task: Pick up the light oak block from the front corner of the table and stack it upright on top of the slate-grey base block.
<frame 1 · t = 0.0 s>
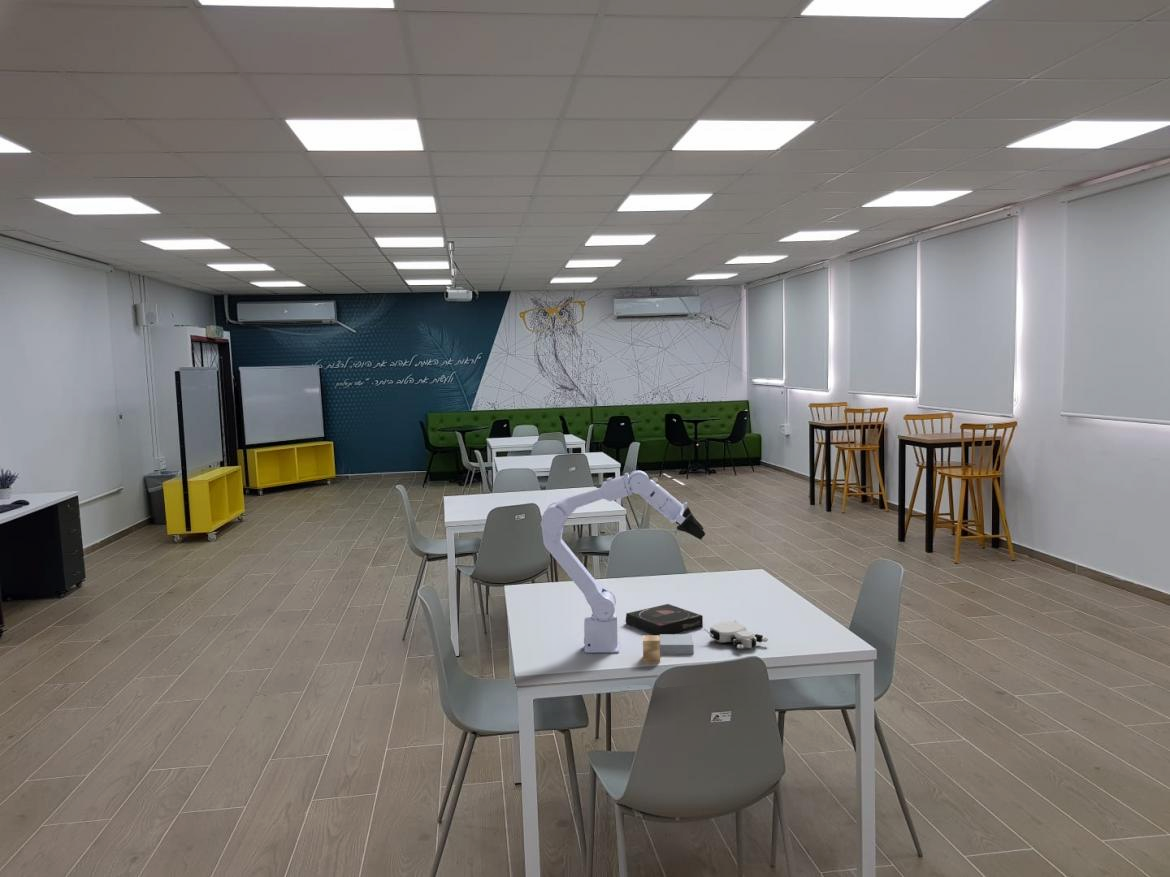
hand: (702, 534, 223), 32 cm above the table, tool tilted 50°, fingers open, 7 cm apart
slate base: (676, 649, 226), on the table
oak block: (651, 659, 217), on the table
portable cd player: (663, 627, 247), on the table
robot toy: (736, 644, 229), on the table
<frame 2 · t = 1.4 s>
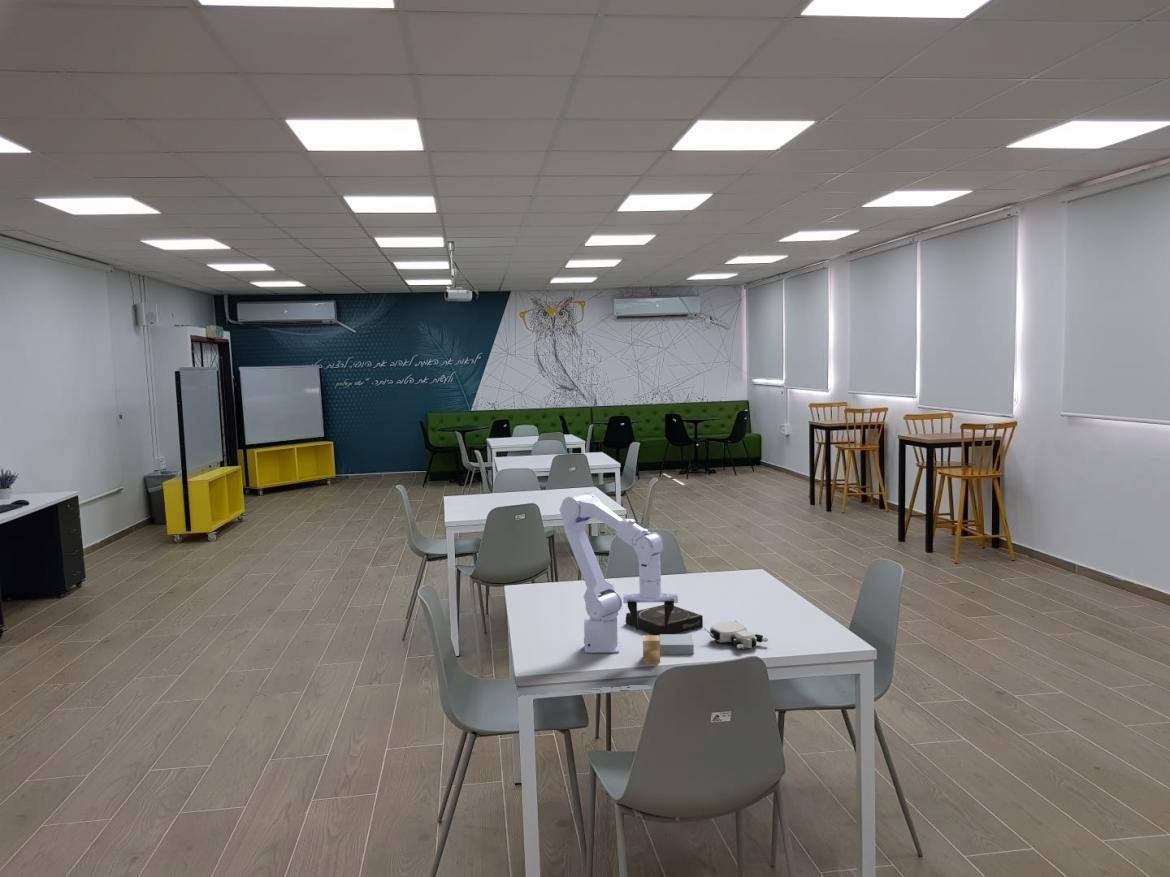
hand: (651, 628, 217), 8 cm above the table, tool pointing down, fingers open, 7 cm apart
nothing on the table moved.
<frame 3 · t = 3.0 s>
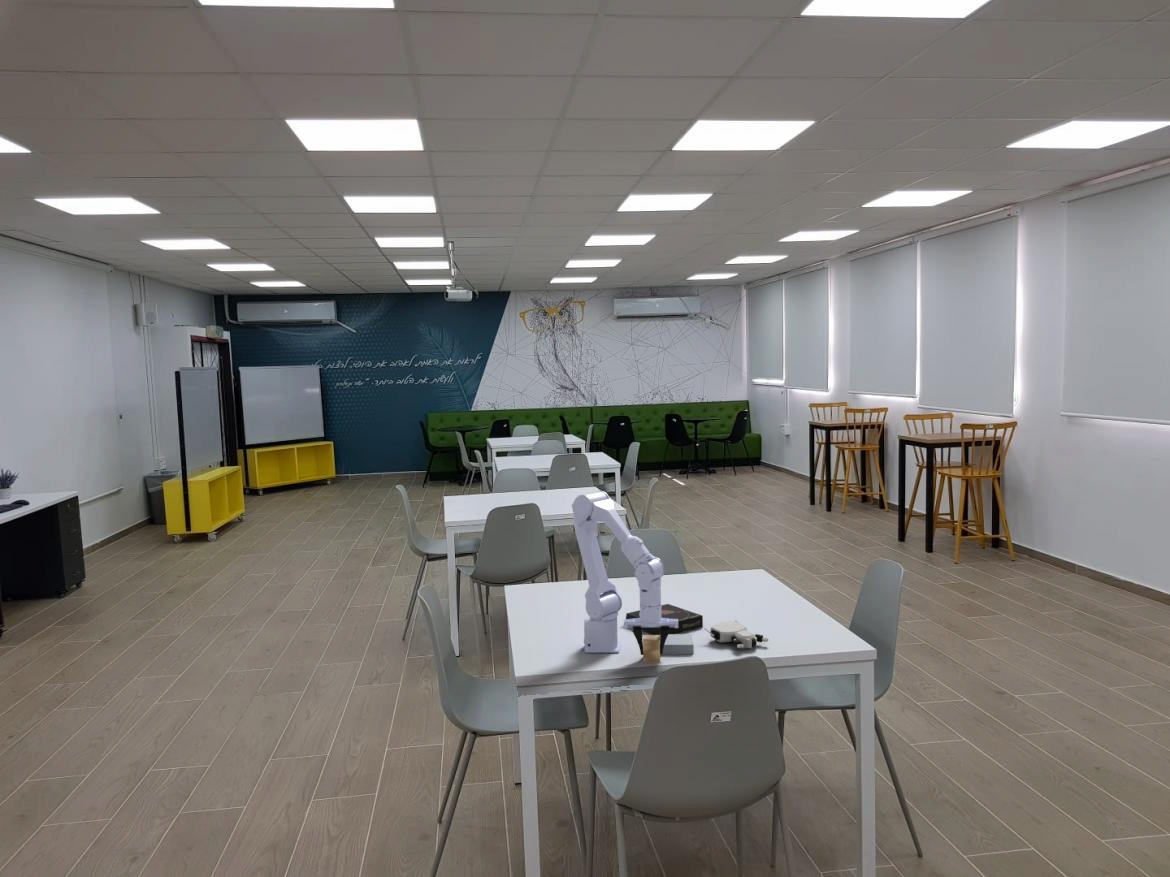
hand: (651, 653, 217), 2 cm above the table, tool pointing down, fingers closed on oak block, 4 cm apart
oak block: (651, 659, 217), on the table, touching gripper
everything else where it was.
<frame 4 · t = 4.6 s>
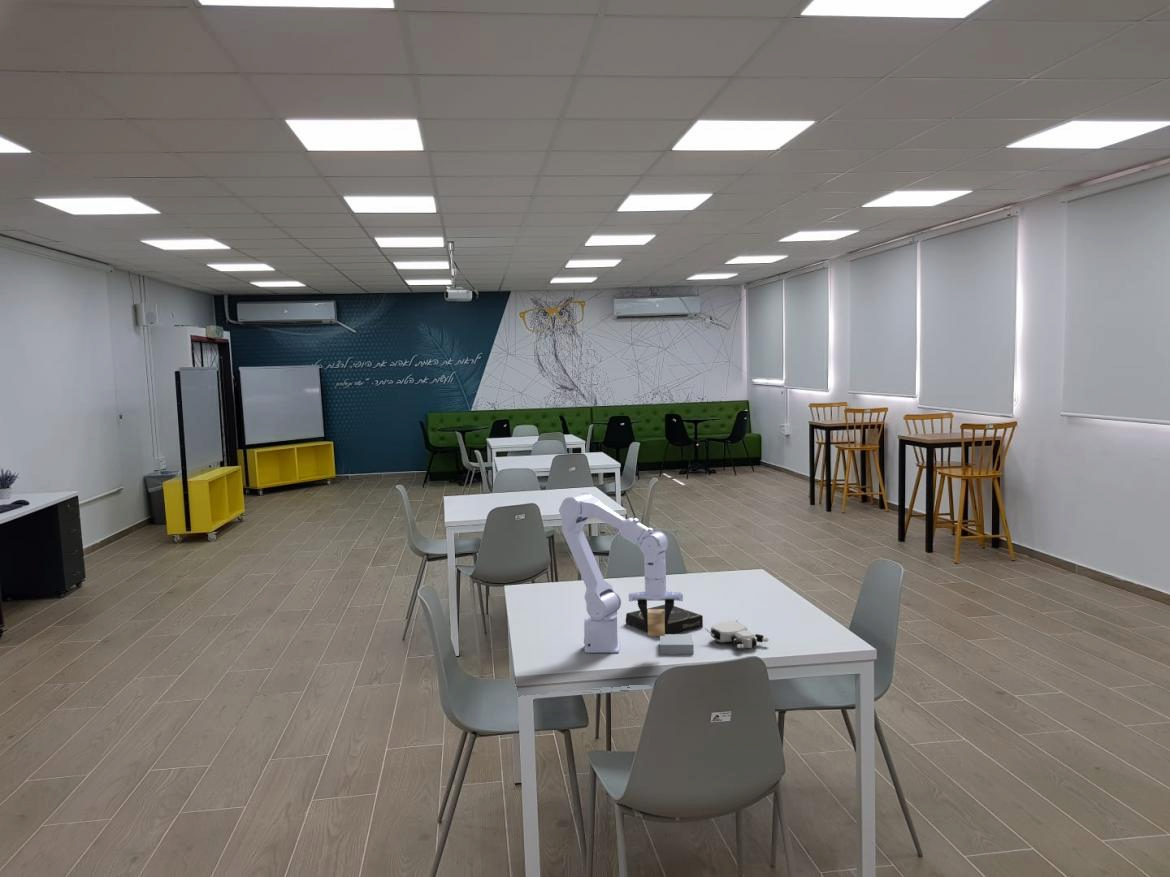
hand: (656, 626, 218), 8 cm above the table, tool pointing down, fingers closed on oak block, 4 cm apart
oak block: (656, 633, 218), point 7 cm above the table, touching gripper
everything else where it was.
when the fingers open (6 cm above the table, at t = 6.4 s): oak block drops 2 cm, resting on slate base.
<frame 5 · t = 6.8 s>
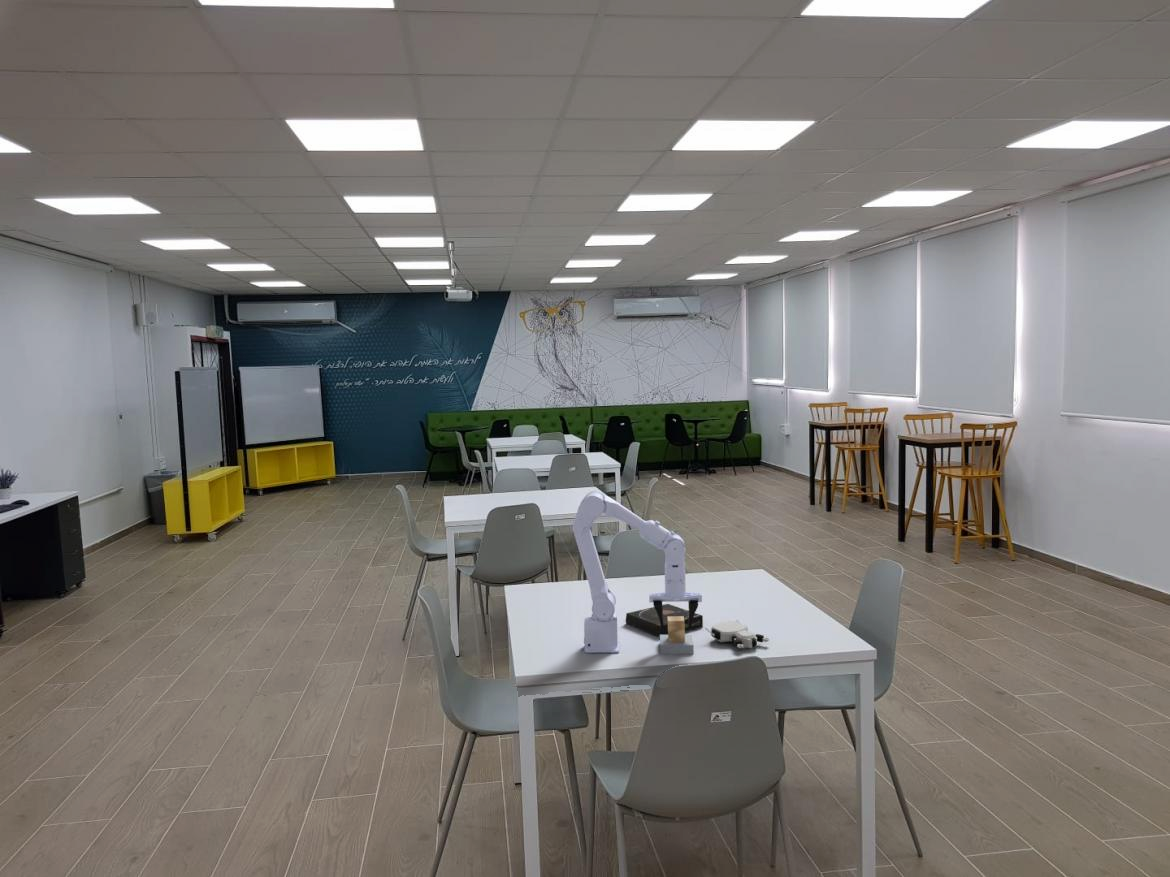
hand: (676, 626, 225), 6 cm above the table, tool pointing down, fingers open, 7 cm apart
slate base: (676, 650, 226), on the table, touching oak block
oak block: (676, 639, 226), point 2 cm above the table, touching slate base
everything else where it was.
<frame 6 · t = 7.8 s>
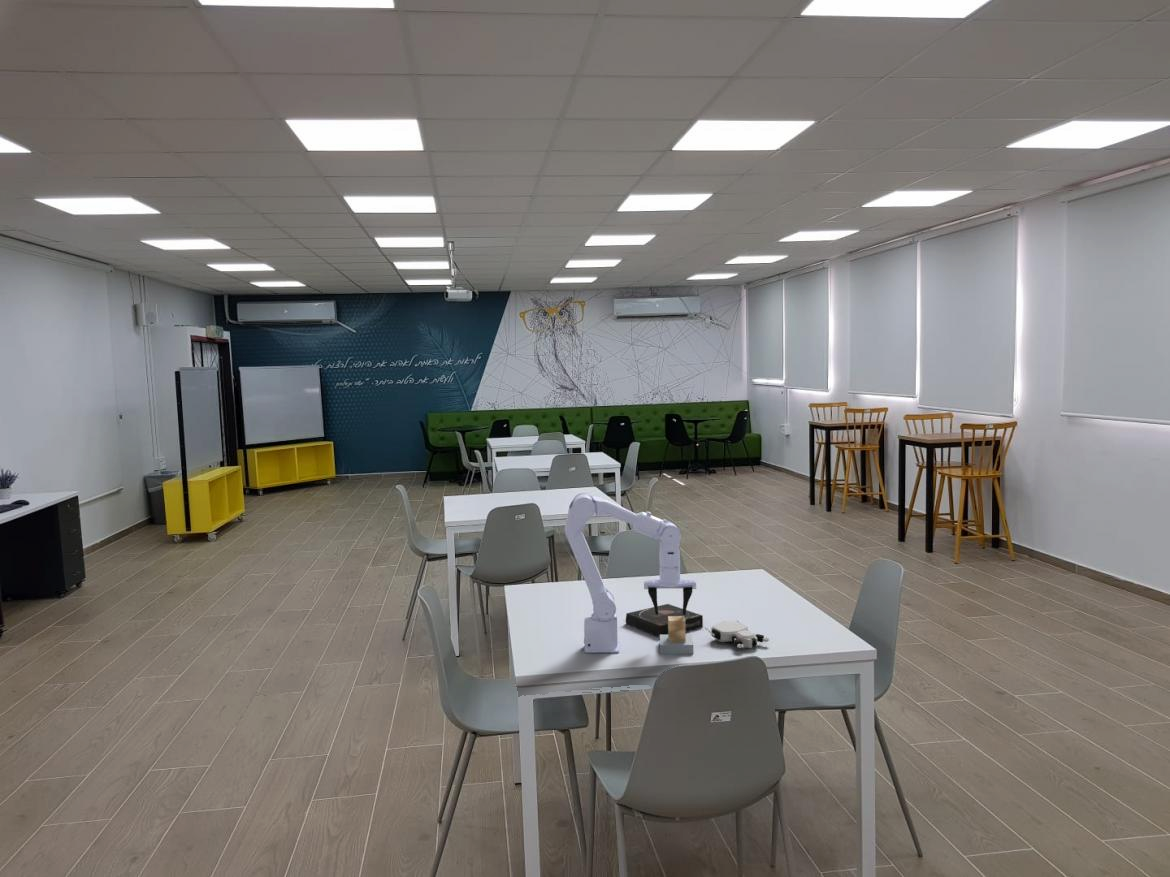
hand: (670, 613, 227), 9 cm above the table, tool pointing down, fingers open, 7 cm apart
slate base: (676, 650, 226), on the table
oak block: (676, 639, 226), point 3 cm above the table
everything else where it was.
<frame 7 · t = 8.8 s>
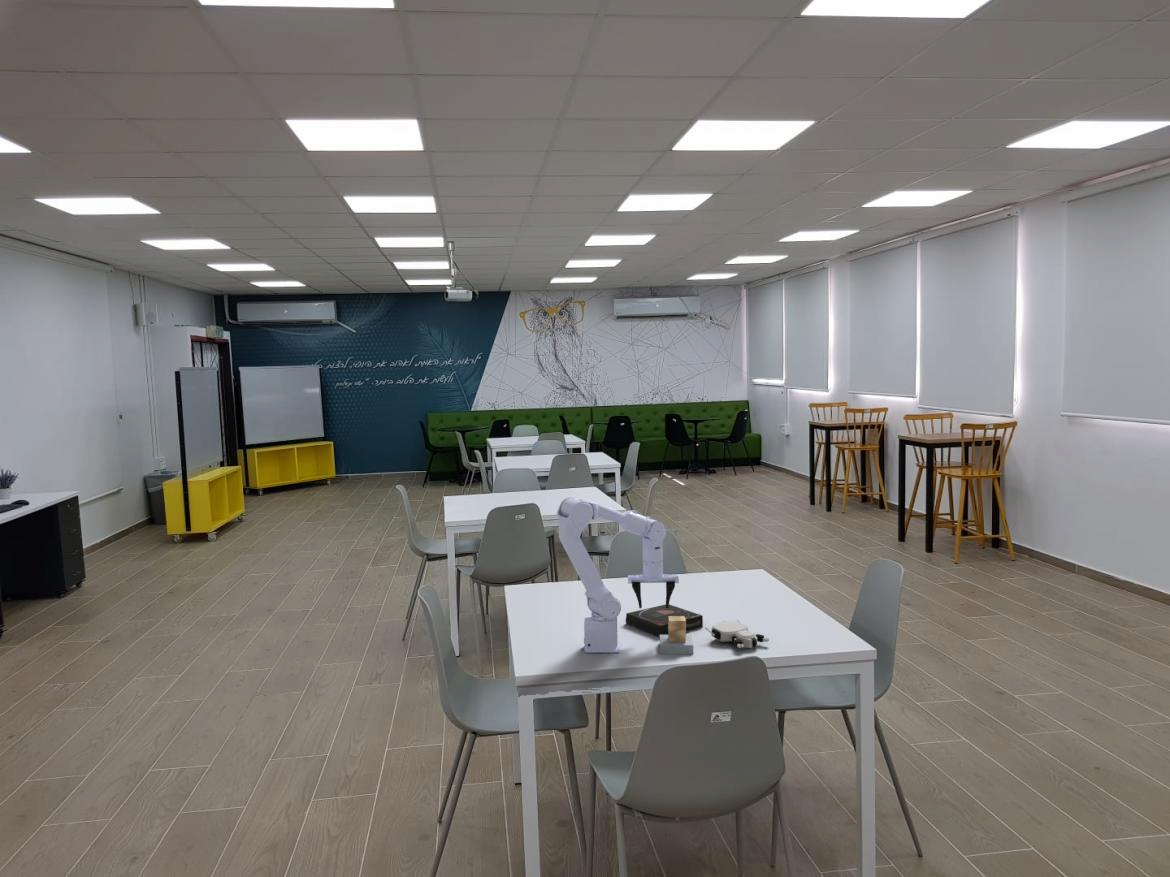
hand: (653, 607, 234), 9 cm above the table, tool pointing down, fingers open, 7 cm apart
nothing on the table moved.
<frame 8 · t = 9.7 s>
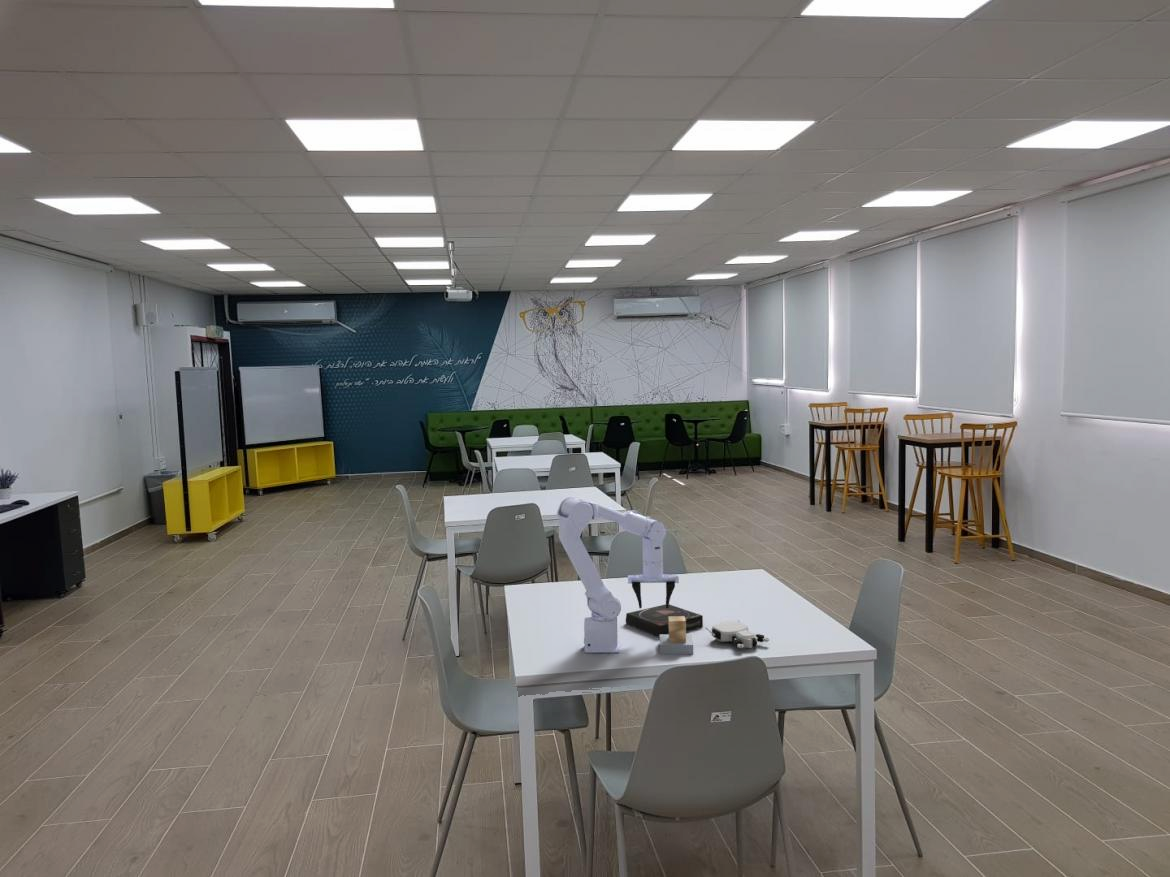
hand: (653, 607, 234), 9 cm above the table, tool pointing down, fingers open, 7 cm apart
slate base: (676, 650, 226), on the table, touching oak block
oak block: (677, 639, 225), point 3 cm above the table, touching slate base
everything else where it was.
at the end: oak block 0.4 cm off-centre on the slate base, point 3.0 cm above the slate base's base; oak block tilted 0°; the gripper is holding nothing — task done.
